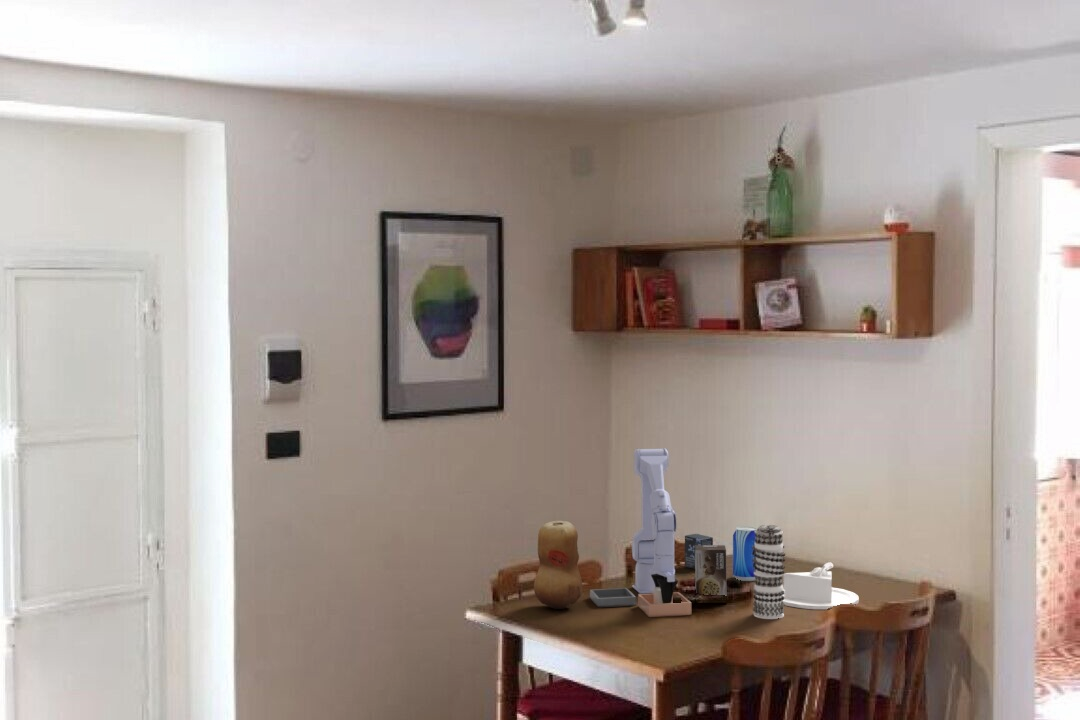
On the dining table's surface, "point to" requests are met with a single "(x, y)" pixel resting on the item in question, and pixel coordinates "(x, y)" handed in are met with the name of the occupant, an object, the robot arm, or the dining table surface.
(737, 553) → the beer can
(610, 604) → the tray
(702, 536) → the box
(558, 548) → the butternut squash
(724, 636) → the dining table surface
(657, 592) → the white cube
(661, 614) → the bin
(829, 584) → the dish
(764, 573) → the decorative candle
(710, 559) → the coffee box
